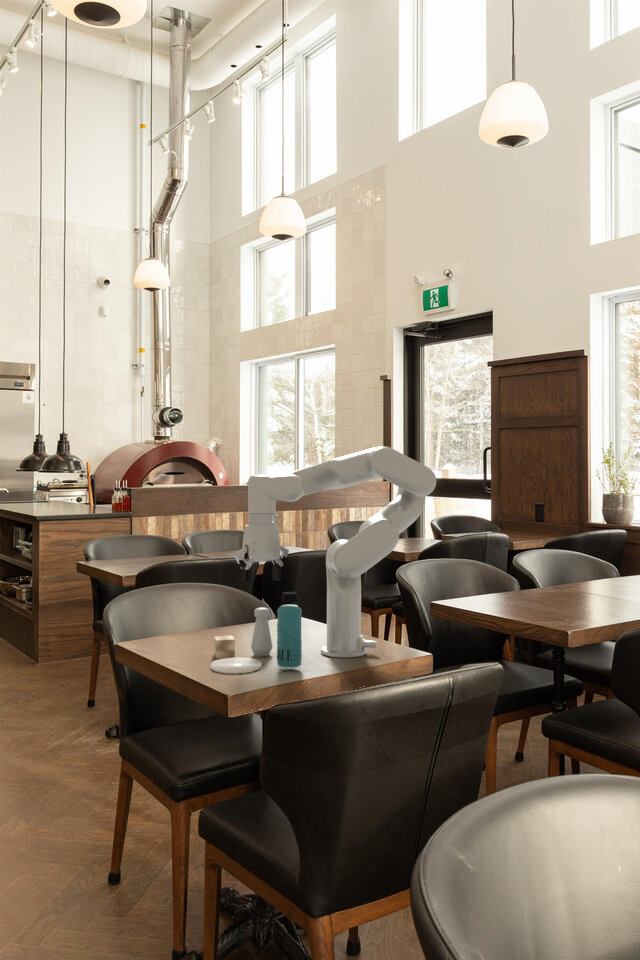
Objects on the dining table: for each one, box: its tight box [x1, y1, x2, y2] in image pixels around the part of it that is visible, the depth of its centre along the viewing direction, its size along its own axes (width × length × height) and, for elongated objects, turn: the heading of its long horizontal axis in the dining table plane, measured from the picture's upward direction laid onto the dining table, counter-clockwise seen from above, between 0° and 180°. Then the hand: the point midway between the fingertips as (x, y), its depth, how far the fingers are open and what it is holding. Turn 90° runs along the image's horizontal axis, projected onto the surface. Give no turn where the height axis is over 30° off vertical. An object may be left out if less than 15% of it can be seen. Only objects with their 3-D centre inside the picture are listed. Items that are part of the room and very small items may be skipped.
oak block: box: [213, 635, 236, 659], centre depth 221 cm, size 5×5×5 cm
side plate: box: [210, 657, 262, 675], centre depth 208 cm, size 13×13×1 cm
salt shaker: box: [250, 606, 273, 658], centre depth 222 cm, size 6×6×13 cm
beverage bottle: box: [276, 591, 303, 668], centre depth 206 cm, size 6×7×20 cm
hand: (262, 582), depth 222 cm, fingers open, 9 cm apart
